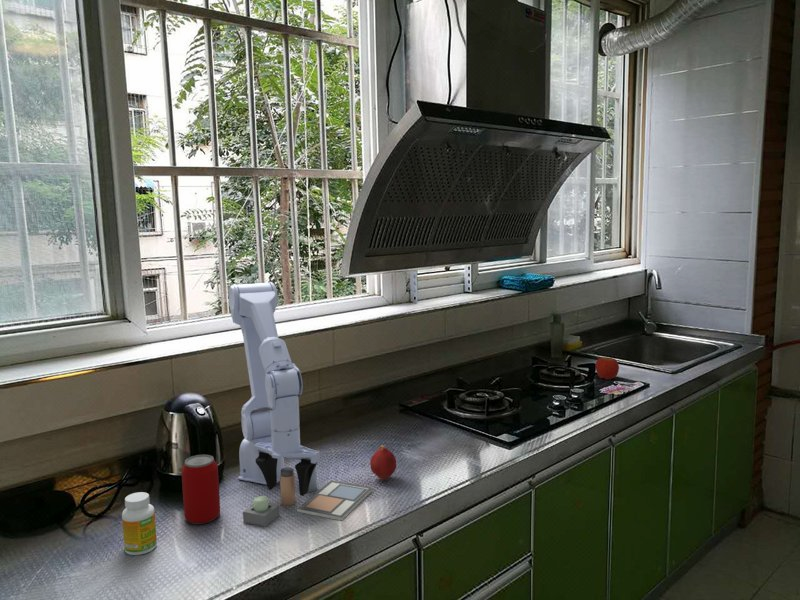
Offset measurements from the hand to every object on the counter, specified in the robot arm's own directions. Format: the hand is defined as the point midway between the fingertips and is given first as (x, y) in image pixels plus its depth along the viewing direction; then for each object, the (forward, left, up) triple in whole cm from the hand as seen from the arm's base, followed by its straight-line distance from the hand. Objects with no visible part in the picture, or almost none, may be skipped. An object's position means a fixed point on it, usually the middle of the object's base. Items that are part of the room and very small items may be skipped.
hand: (288, 490), depth 130 cm
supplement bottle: (-15, -25, -3) cm, 29 cm away
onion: (+14, +17, -3) cm, 22 cm away
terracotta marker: (0, 0, -3) cm, 3 cm away
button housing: (-1, -8, -2) cm, 8 cm away
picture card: (+9, +4, -2) cm, 10 cm away
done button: (-1, -8, -2) cm, 8 cm away
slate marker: (+1, +7, -2) cm, 8 cm away
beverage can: (-12, -12, -3) cm, 17 cm away
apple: (+53, +121, -3) cm, 132 cm away
